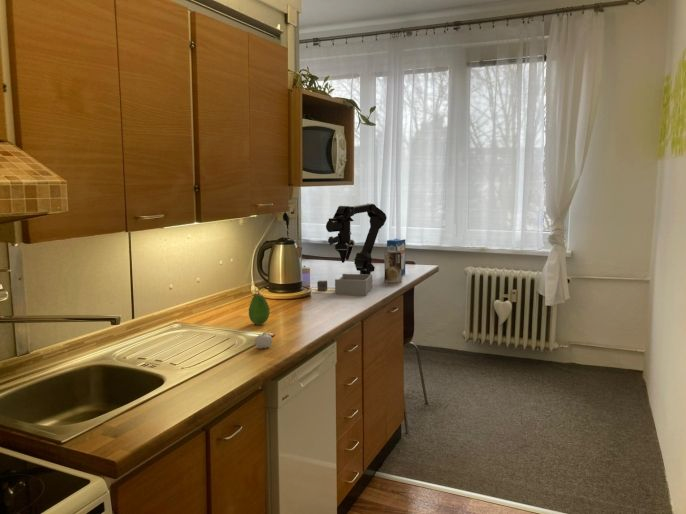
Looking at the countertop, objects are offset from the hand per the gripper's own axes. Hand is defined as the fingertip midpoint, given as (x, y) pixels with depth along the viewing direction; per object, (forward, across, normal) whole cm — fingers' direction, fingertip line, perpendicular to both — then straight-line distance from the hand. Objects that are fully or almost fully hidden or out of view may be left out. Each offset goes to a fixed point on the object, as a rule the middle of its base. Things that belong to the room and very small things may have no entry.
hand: (345, 261), depth 285 cm
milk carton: (+13, -37, +21) cm, 45 cm away
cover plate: (+14, +12, -9) cm, 20 cm away
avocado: (+13, +78, -16) cm, 81 cm away
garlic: (+13, +106, -4) cm, 107 cm away
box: (+13, +12, +7) cm, 19 cm away
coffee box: (+13, -17, +22) cm, 31 cm away
